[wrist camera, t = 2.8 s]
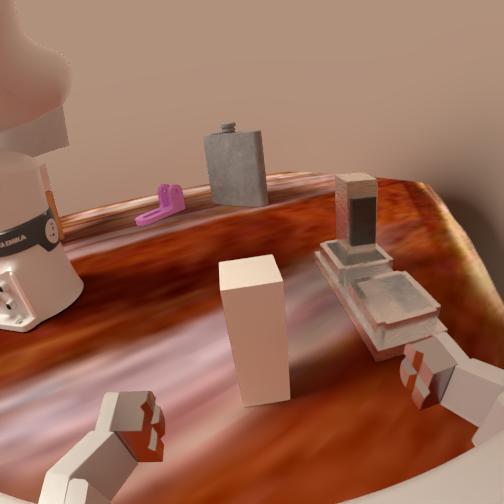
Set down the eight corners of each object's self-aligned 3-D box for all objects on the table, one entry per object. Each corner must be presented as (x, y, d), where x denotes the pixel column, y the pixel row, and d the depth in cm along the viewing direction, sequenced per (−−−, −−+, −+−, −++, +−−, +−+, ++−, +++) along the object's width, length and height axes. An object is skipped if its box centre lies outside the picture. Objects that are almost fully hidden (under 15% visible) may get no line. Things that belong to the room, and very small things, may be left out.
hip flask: (270, 203, 76) (262, 119, 68) (262, 208, 73) (252, 120, 65) (217, 199, 84) (207, 124, 76) (208, 204, 81) (196, 126, 73)
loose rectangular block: (244, 407, 25) (220, 290, 20) (239, 370, 29) (218, 258, 24) (290, 399, 25) (283, 281, 20) (280, 363, 30) (271, 251, 24)
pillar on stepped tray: (375, 362, 28) (392, 229, 22) (314, 261, 48) (310, 171, 42) (444, 340, 28) (471, 217, 22) (365, 252, 48) (366, 166, 42)
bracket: (172, 207, 84) (167, 182, 81) (185, 209, 81) (180, 182, 78) (132, 224, 75) (126, 197, 72) (144, 227, 72) (137, 198, 69)
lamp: (70, 222, 86) (44, 89, 68) (103, 231, 73) (72, 65, 55) (7, 253, 70) (-27, 109, 52) (24, 271, 57) (-19, 86, 39)
